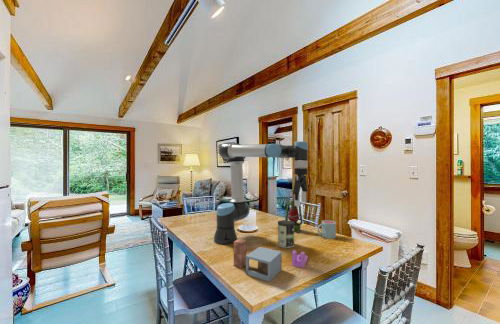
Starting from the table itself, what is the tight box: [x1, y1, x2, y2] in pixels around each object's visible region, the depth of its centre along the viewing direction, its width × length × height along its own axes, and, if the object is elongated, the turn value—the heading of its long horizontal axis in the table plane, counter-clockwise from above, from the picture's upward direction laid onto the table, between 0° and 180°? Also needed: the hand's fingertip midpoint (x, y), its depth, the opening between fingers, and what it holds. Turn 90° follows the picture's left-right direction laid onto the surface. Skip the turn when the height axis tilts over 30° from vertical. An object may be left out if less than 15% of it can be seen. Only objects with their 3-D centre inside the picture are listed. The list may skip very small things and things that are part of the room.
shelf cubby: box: [245, 246, 283, 282], centre depth 106 cm, size 12×13×8 cm
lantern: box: [284, 190, 304, 234], centre depth 170 cm, size 14×11×30 cm
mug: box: [317, 219, 337, 240], centre depth 156 cm, size 14×9×10 cm
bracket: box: [291, 249, 308, 269], centre depth 117 cm, size 13×6×7 cm, turn 155°
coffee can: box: [277, 219, 295, 249], centre depth 140 cm, size 10×10×14 cm
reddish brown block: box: [233, 238, 268, 275], centre depth 109 cm, size 19×5×12 cm, turn 60°
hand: (300, 204), depth 133 cm, fingers open, 13 cm apart
